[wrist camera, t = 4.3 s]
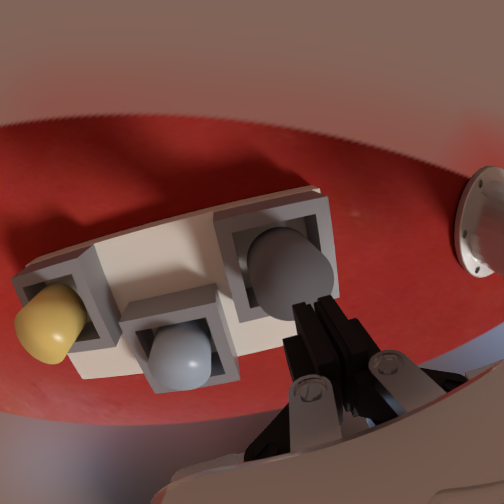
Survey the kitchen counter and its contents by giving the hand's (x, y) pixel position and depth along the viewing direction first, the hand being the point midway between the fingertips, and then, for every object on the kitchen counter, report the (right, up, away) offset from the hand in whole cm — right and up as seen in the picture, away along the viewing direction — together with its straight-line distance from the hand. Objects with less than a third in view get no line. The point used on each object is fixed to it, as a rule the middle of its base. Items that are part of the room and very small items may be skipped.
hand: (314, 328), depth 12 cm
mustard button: (-16, -1, +6) cm, 18 cm away
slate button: (-8, -3, +10) cm, 13 cm away
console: (-9, 0, +11) cm, 14 cm away
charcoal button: (-1, +3, +7) cm, 7 cm away
